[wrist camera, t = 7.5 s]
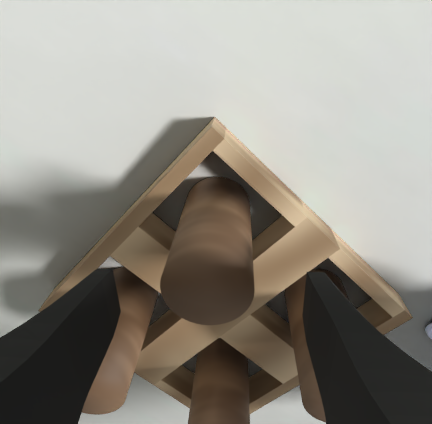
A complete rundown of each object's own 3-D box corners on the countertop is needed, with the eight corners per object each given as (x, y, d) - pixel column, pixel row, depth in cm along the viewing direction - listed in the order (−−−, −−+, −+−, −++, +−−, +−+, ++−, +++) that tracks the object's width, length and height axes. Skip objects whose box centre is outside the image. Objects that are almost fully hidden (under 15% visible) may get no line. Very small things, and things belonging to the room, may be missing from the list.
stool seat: (398, 293, 21) (463, 402, 15) (224, 403, 27) (219, 516, 21) (214, 117, 17) (200, 165, 11) (54, 288, 23) (-17, 385, 16)
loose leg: (263, 207, 19) (274, 292, 13) (217, 245, 21) (208, 338, 14) (217, 163, 18) (205, 231, 12) (172, 205, 20) (140, 287, 13)
